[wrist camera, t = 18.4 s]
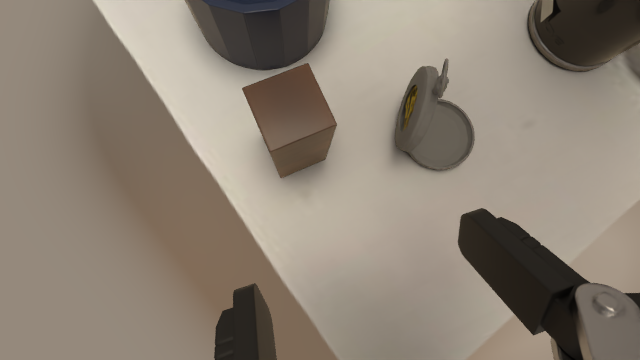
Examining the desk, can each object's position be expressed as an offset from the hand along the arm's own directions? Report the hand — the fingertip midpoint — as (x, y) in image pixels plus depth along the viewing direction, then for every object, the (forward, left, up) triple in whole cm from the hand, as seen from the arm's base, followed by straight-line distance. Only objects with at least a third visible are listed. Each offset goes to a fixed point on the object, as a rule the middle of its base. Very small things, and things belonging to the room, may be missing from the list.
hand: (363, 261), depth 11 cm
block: (+1, -9, -15) cm, 17 cm away
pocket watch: (-11, -7, -15) cm, 20 cm away
